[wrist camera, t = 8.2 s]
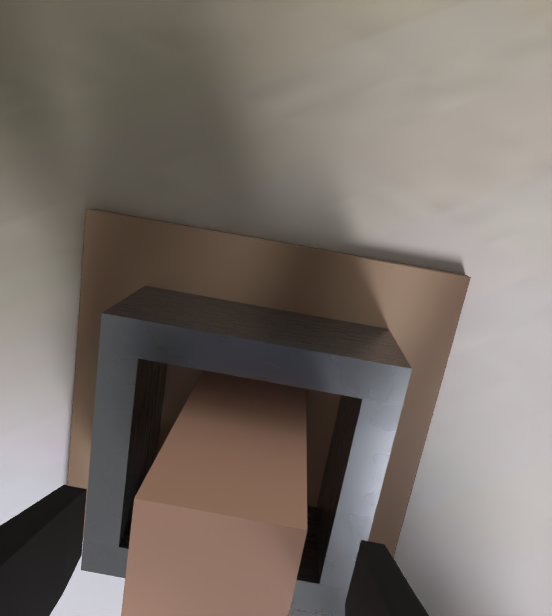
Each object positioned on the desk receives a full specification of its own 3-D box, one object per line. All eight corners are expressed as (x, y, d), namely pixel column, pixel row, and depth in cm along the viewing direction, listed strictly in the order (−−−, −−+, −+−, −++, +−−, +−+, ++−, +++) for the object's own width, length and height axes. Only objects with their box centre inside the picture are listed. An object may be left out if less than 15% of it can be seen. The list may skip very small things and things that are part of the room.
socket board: (466, 275, 18) (518, 304, 14) (381, 583, 21) (401, 686, 17) (92, 208, 18) (24, 216, 14) (69, 526, 22) (9, 613, 17)
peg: (306, 387, 19) (307, 530, 11) (287, 477, 20) (277, 665, 12) (204, 369, 19) (134, 498, 11) (191, 459, 20) (118, 635, 12)
